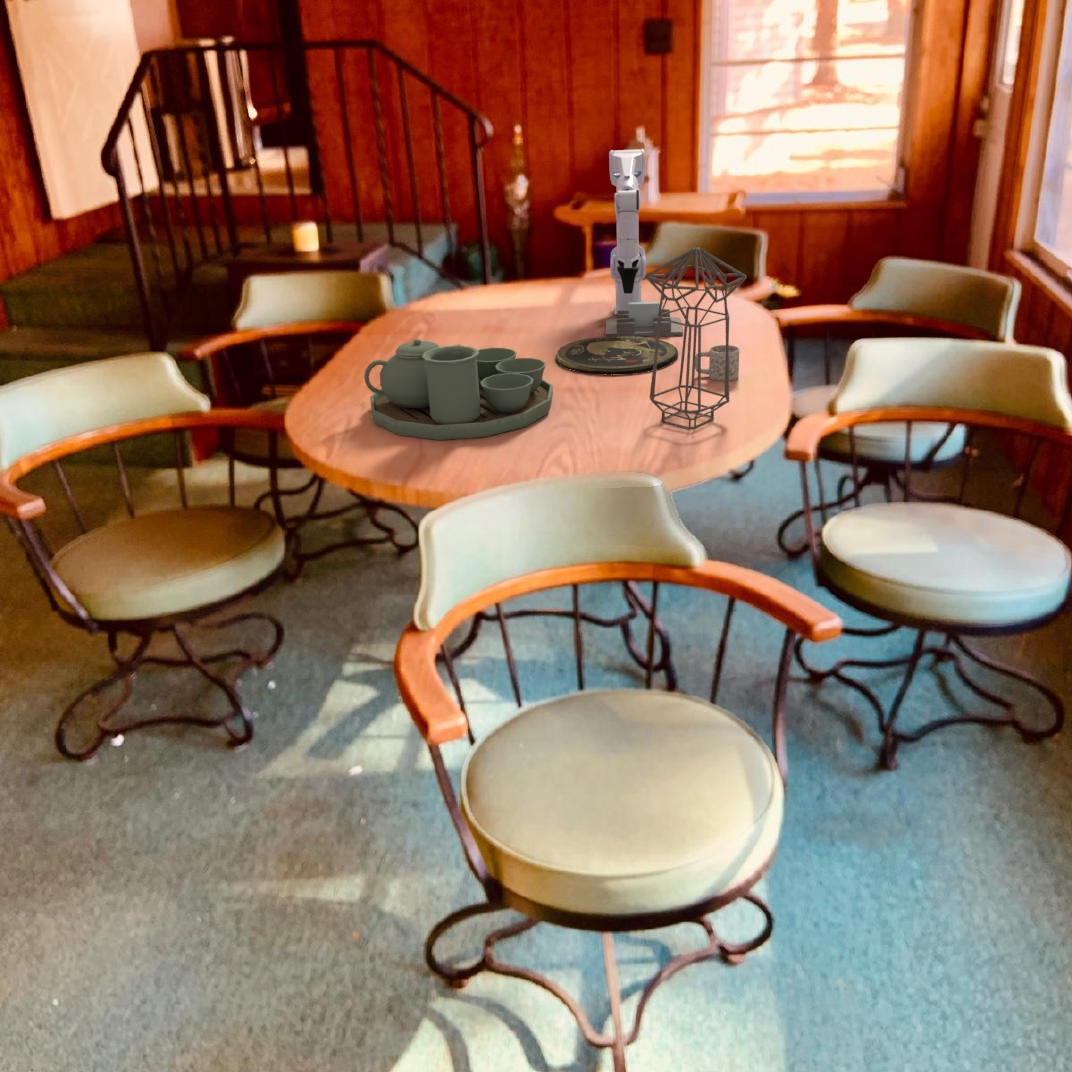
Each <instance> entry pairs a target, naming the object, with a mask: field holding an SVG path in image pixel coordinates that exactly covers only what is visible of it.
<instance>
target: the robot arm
mask: <svg viewBox="0 0 1072 1072" xmlns="http://www.w3.org/2000/svg"><path fill="white" fill-rule="evenodd" d="M608 153H609V154H608V155H609V156H608V159H609V160H608V161H609V164H608V165H609V177H610V178H609V180H610V181H611V182H610V183H611V185H613V186H614V187H616V188H615V189H616V192H615V193H614V212H615V221H616V246H615V247H614V248H613V249H612V250H611V252H610V267H609V268H610V279H612V280H614V282H615V284H614V285H615V287H614V288H615V289H614V290H615V305H614V311H613V313H614V315H615V316H617V310H629V302H642V280H643V276H645V275H647V260H646V259H647V258H646V251H645V249H644V247H642V246H641V245H640V244H639V243H640V241H639V238H640V237H639V234H640V233H639V232H640V231H639V230H640V229H639V228H640V227H639V226H640V225H639V222H640V221H639V219H640V218H639V213H640V210H641V193H640V188H639V186H640V185H642V184H643V183H644V179H645V171H646V151H645V150H644V148H640V149H623V150H621V149H620V150H619V149H618V150H615V149H614V150H613V149H611V150H610V151H609V152H608Z"/></svg>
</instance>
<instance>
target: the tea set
mask: <svg viewBox="0 0 1072 1072" xmlns="http://www.w3.org/2000/svg"><path fill="white" fill-rule="evenodd" d="M517 354H518V352H517V351H515V350H514V349H511V348H505V347H487V348H481V349H478V348H475V347H472V346H468V345H462V344H460V343H459V344H453V345H445V346H440V345H439V344H438V343H435V342H433V341H429V340H421V339H419V338H417V339H415V338H414V340H413V341H409V342H405V343H402V344H400V345H399V346H397V348H396V350H395V354H394V355H392V356H390V357H389V358H388V359H387V360H383V359H375V360H373V361H372V362H371V363H369V364H368V365H367V367H366V369H365V371H364V374H363V375H364V381H365V382H364V383H365V385H366V387H367V389H369V390H370V391H371V392H372V393H373V394H371V396H370V399H369V400H370V409H371V416H372V417H371V418H372V420H373V422H374V423H375V425H377V426H379V427H381V428H384V429H385V430H387V431H388V432H389V431H390V432H391V433H394V434H396V435H397V436H404V437H413V438H420V439H427V440H429V439H430V440H437V441H443V440H459V439H475V438H485V437H490V436H495V435H498V434H501V433H506V432H510V431H514V430H517V429H522V428H526V427H528V426H529V425H530V424H532V423H534V422H536V421H537V420H540V419H541V418H542V417H544V416H546V415H547V414H549V413H550V410H551V408H552V407H551V406H552V402H553V401H552V400H553V395H554V389H553V388H554V387H553V384H552V383H550V382H548V381H546V380H545V379H543V375H544V371H545V369H546V366H547V362H546V361H543V360H542V359H538V358H532V357H517ZM516 357H517V358H516ZM376 366H382V368H381V370H380V372H379V385H380V387H381V388H380V389H378V388H376V387H375V386H374V385H373V384H372V383H371V380H370V373H371V371H372V370H373V368H374V367H376Z"/></svg>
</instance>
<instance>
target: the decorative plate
mask: <svg viewBox="0 0 1072 1072" xmlns="http://www.w3.org/2000/svg"><path fill="white" fill-rule="evenodd" d="M655 346H656V338H653V337H637V336H599V337H598V336H596V337H591V338H585V339H580V340H576V341H572V342H570V343H567V344H565V345H563V346H562V347H560V348H559V349H558V350H557V351H556V355H555V361H557V362H556V363H557V364H558V365H559V366H560V365H561V366H560V367H562V368H564V369H567V370H569V369H571V370H570V371H572V370H575V371H574V372H576V371H579V372H578V373H581V372H583V373H582V374H587V373H589V374H588V375H597V374H607V375H606V376H614V375H613V374H628V375H634V374H633V373H638V374H643V373H642V372H644V373H649V372H648V371H650V372H653V371H652V370H653V365H654V356H655ZM678 357H679V350H678V349H677V347H676V346H674V345H673V344H672V343H670V342H668V341H664V340H662V339H659V345H658V355H657V368H656V369H658V370H660V368H661V369H663V367H664V368H666V367H669V366H670V365H672V364H674V363H675V362H676V361H677V360H678ZM674 361H675V362H674ZM673 362H674V363H673ZM671 363H672V364H671ZM668 365H669V366H668ZM611 374H612V375H611Z"/></svg>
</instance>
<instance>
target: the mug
mask: <svg viewBox="0 0 1072 1072" xmlns="http://www.w3.org/2000/svg"><path fill="white" fill-rule="evenodd" d="M725 356H726V344H720V345H719V344H717V345H713V346H711V347H710V348H709V350H705V351H701V358H702V357H706V358H709V360H708V361H709V362H708V363H709V364H708V365H709V367H708V368H701V374H704V375H708V378H709V380H711V381H714V382H720V383H722V382H723V383H725ZM739 369H740V348H739V347H738V346H736V345H732V344H731V345H729V382H734V381H736V380H738V379H739V376H740V375H739V374H740V372H739ZM695 372H697V373H698V352H696V355H695Z"/></svg>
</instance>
